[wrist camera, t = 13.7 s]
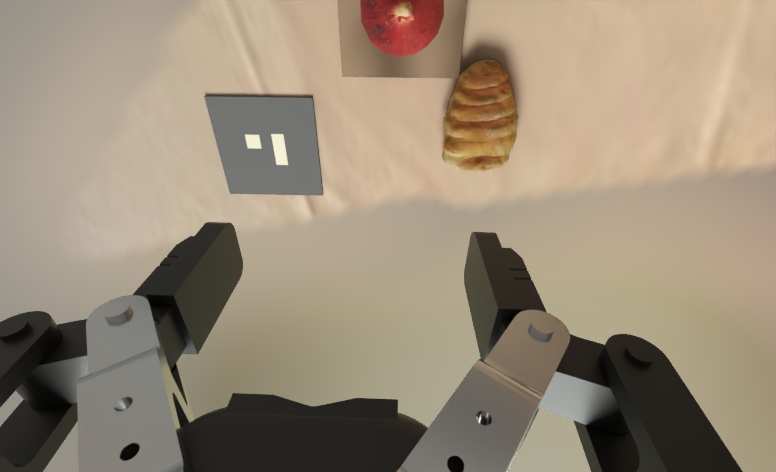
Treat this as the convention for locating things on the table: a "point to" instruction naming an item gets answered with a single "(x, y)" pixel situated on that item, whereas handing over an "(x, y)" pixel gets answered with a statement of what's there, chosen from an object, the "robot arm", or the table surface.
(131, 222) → the table surface
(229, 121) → the mat
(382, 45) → the onion
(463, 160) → the pastry
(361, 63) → the beige coaster
